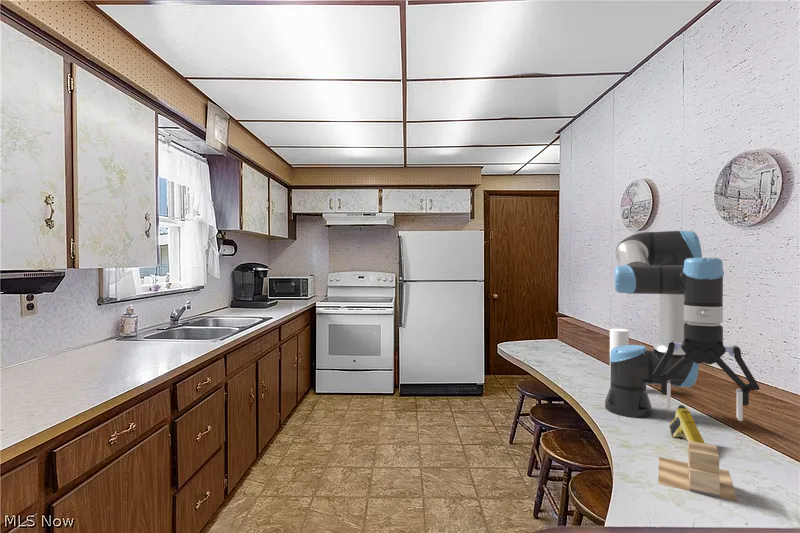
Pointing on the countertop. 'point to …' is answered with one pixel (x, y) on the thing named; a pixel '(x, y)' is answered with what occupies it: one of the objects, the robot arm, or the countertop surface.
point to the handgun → (684, 426)
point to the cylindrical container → (618, 338)
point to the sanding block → (703, 469)
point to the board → (677, 477)
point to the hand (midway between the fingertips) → (702, 413)
